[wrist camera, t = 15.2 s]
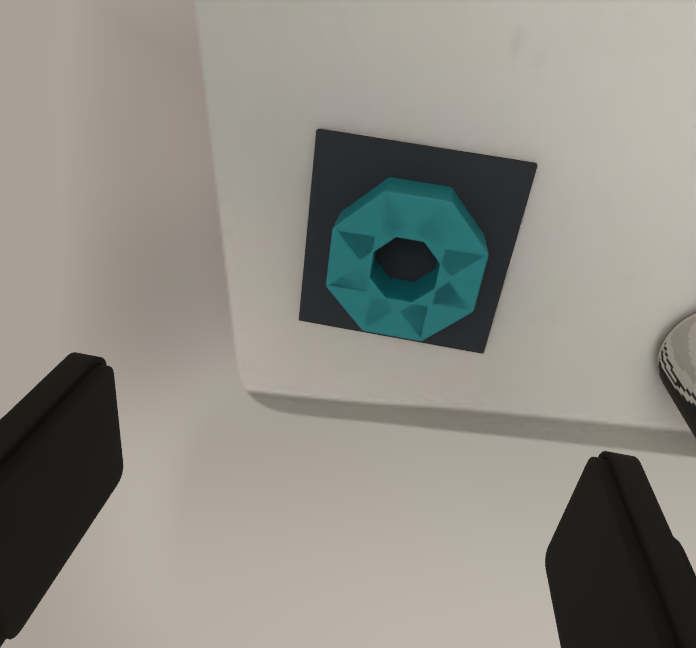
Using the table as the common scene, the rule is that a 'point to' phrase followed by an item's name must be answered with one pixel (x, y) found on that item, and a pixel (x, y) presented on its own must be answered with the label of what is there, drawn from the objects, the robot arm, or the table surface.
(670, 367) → the beverage can
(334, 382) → the table surface
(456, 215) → the ring
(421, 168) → the mat
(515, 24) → the table surface
